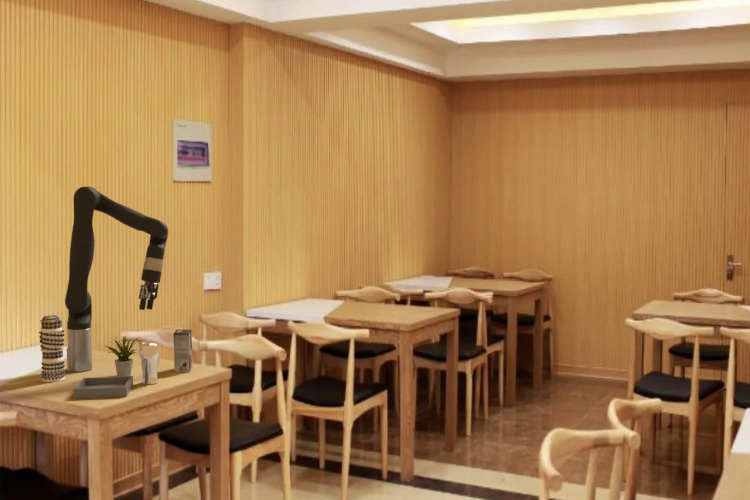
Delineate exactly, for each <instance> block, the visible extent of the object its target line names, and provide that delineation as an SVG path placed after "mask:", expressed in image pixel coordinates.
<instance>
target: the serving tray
mask: <svg viewBox="0 0 750 500" xmlns="http://www.w3.org/2000/svg"><path fill="white" fill-rule="evenodd" d="M133 386H134V376H133V375H131V376H120V377H118V376H97V377H82V379H81V380H80V382H79V383H77V384H76V386H75V388H74V389H73V399H74V400H79V399H80V400H81V399H82V400H83V399H102V398H103V399H104V398H108V399H109V398H124V397H125V398H126V397H128V395H129V394H130V392H131V389H132V388H133Z"/></svg>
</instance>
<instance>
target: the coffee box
mask: <svg viewBox="0 0 750 500" xmlns="http://www.w3.org/2000/svg"><path fill="white" fill-rule="evenodd" d="M192 336H193V334H192V329H184V328H183V329H182V328H181V329H175V331H174V333H173V359H174V360H173V363H174V367H173V368H174V373H191V371H192V369H193V339H192V338H193V337H192Z"/></svg>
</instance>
